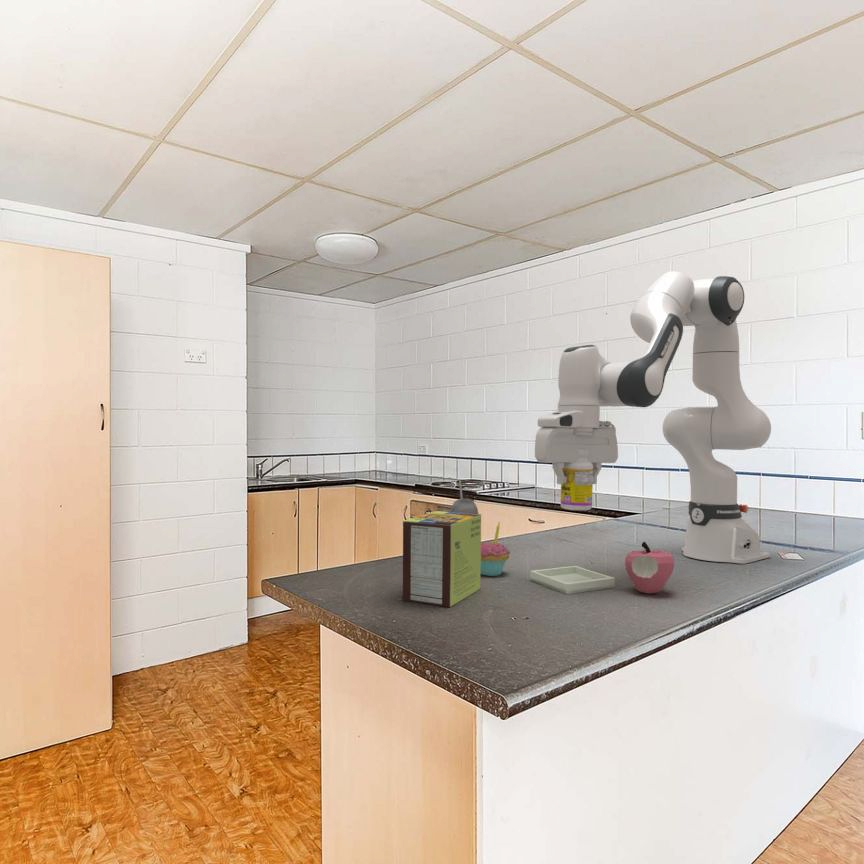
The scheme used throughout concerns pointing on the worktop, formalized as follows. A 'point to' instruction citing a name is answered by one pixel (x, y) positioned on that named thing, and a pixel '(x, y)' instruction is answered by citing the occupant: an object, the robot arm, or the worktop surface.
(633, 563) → the apple
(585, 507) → the supplement bottle
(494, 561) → the cupcake
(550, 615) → the worktop surface
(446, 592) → the protein box
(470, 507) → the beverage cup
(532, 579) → the tray
